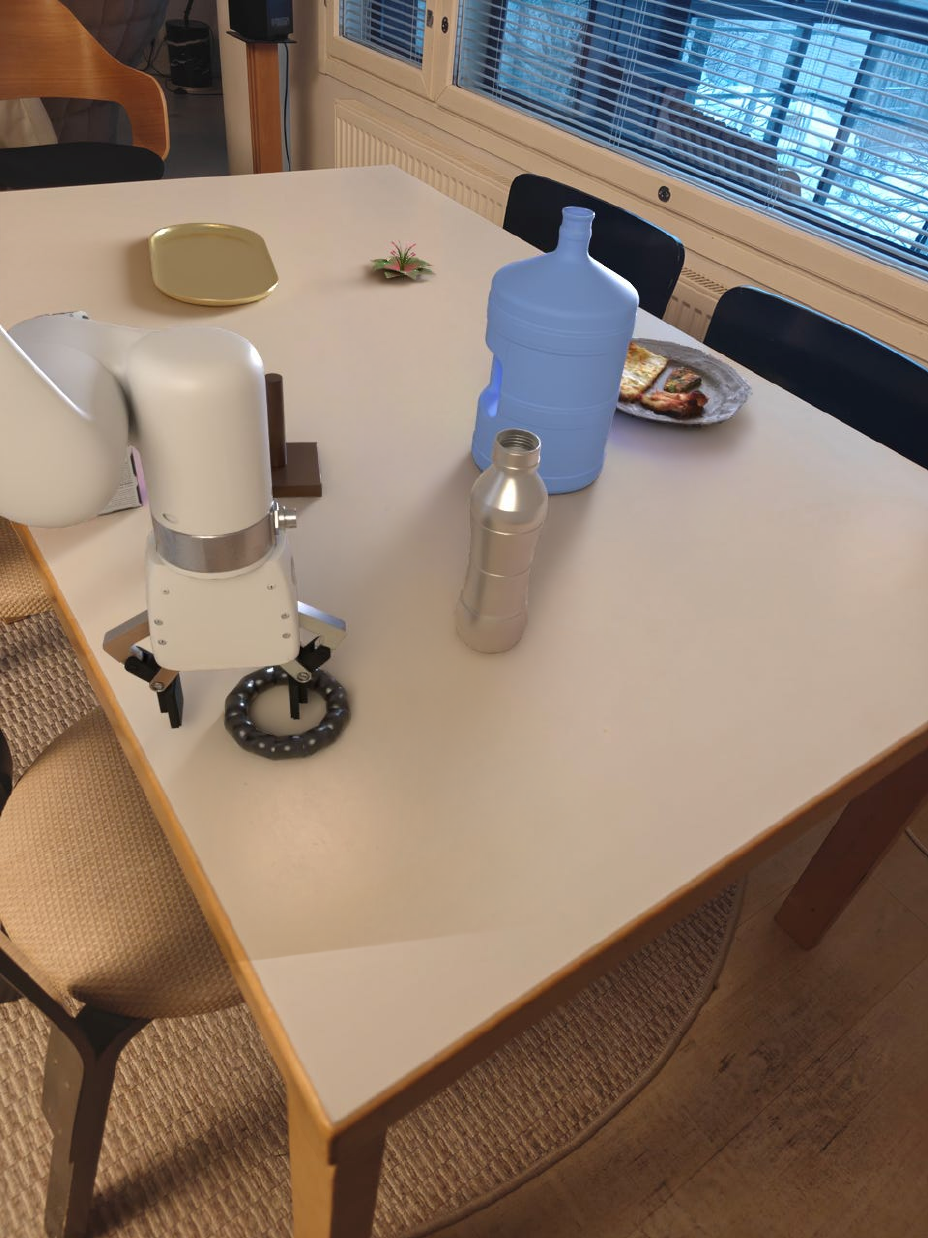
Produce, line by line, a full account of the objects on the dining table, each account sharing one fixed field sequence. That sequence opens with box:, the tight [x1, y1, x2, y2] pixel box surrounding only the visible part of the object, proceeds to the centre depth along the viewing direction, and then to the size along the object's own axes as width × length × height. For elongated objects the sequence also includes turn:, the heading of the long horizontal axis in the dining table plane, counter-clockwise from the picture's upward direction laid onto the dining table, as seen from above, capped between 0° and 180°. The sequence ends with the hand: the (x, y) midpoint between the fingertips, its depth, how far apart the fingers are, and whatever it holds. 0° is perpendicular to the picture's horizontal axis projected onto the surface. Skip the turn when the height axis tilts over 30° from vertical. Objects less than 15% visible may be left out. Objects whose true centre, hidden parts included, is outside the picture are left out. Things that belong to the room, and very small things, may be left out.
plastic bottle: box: [454, 429, 550, 654], centre depth 71 cm, size 6×7×20 cm
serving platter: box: [148, 222, 280, 307], centre depth 138 cm, size 19×35×2 cm, turn 17°
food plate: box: [615, 337, 753, 429], centre depth 118 cm, size 25×23×4 cm
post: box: [264, 372, 323, 499], centre depth 91 cm, size 9×9×12 cm
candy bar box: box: [32, 310, 144, 517], centre depth 85 cm, size 11×5×16 cm, turn 32°
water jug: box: [470, 206, 640, 495], centre depth 93 cm, size 16×16×28 cm
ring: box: [223, 665, 351, 761], centre depth 68 cm, size 10×10×2 cm
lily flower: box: [369, 240, 437, 281], centre depth 144 cm, size 12×12×5 cm
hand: (237, 710), depth 67 cm, fingers open, 8 cm apart
